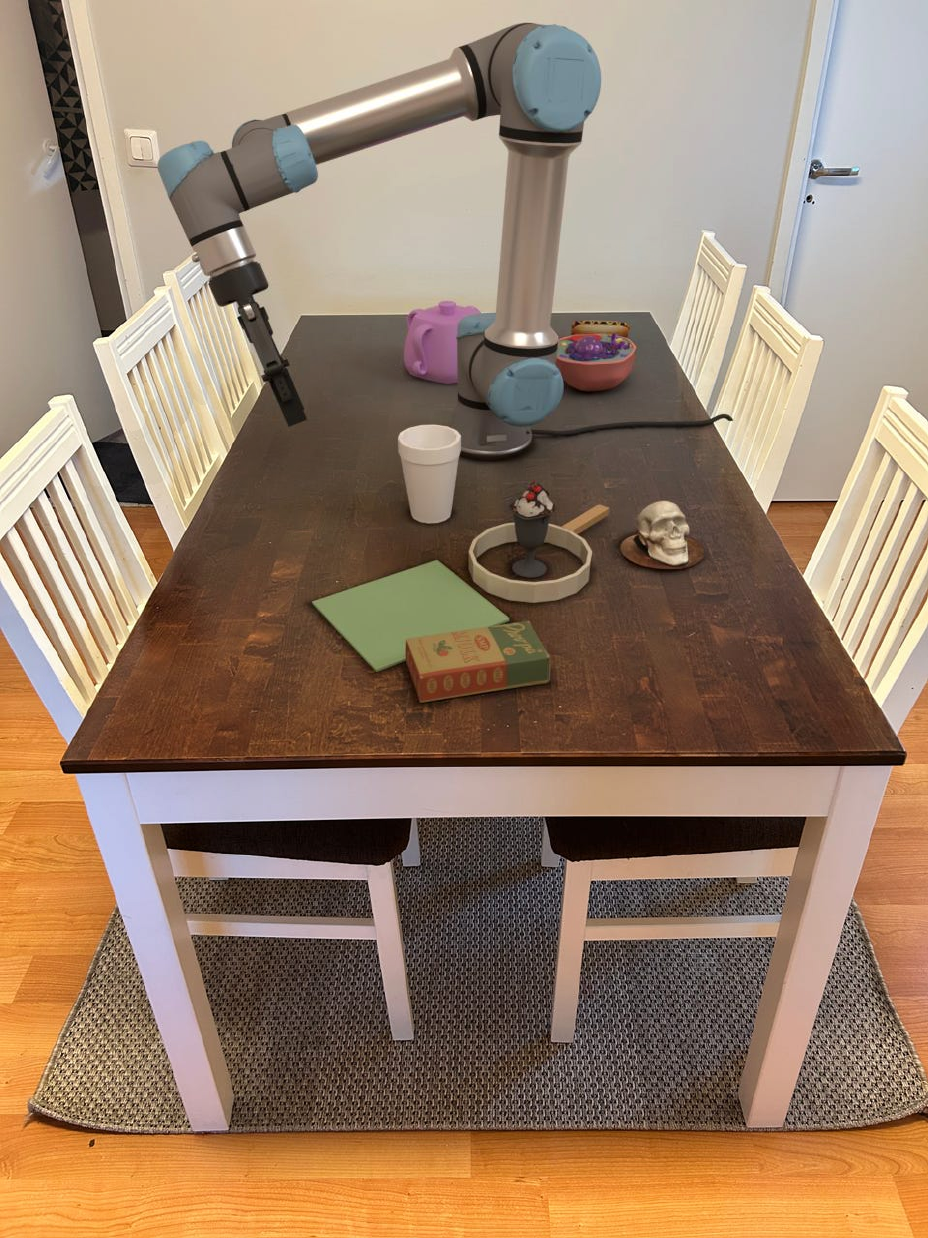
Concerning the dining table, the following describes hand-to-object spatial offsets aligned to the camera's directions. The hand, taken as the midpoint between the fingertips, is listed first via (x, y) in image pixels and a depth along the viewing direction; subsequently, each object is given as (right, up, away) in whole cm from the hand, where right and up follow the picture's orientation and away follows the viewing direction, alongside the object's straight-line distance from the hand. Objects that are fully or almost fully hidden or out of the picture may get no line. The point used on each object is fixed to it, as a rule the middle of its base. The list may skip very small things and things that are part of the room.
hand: (297, 417), depth 133 cm
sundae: (+33, -22, 0) cm, 40 cm away
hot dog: (+55, +35, +82) cm, 105 cm away
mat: (+17, -28, -9) cm, 34 cm away
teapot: (+22, +24, +67) cm, 75 cm away
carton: (+25, -36, -20) cm, 48 cm away
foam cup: (+19, -12, +14) cm, 26 cm away
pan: (+37, -20, +2) cm, 42 cm away
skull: (+53, -19, +4) cm, 57 cm away
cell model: (+50, +19, +60) cm, 81 cm away
